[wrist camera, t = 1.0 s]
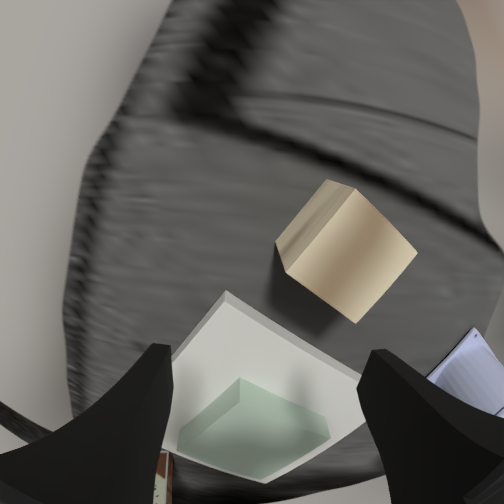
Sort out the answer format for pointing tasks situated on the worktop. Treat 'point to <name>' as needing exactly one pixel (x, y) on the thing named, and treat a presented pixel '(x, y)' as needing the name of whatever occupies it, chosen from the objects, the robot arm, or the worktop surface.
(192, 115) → the worktop surface
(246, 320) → the base board
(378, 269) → the maple cube
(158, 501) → the food container
